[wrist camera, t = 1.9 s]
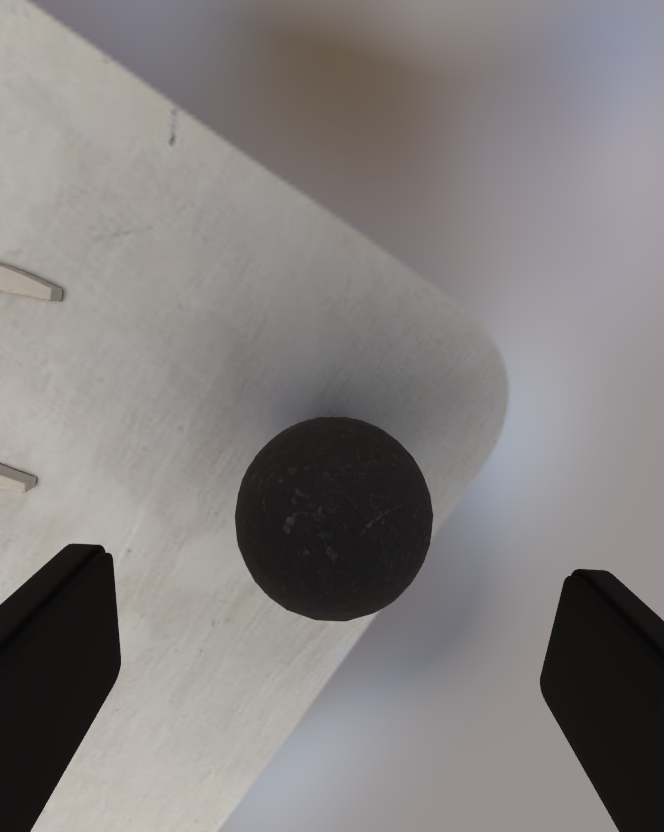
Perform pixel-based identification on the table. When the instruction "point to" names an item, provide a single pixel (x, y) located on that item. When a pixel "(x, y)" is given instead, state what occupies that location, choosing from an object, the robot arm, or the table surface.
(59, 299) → the pliers
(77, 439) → the table surface
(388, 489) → the light bulb
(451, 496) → the table surface
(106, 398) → the table surface
